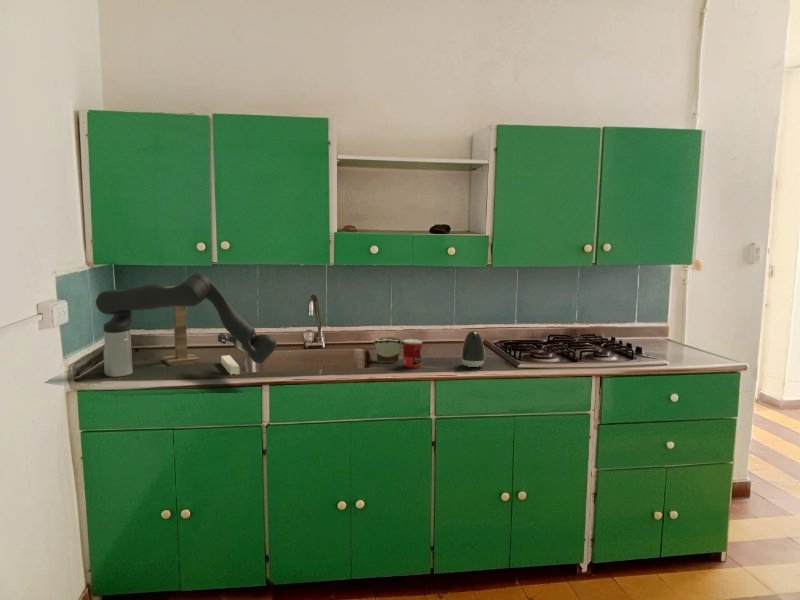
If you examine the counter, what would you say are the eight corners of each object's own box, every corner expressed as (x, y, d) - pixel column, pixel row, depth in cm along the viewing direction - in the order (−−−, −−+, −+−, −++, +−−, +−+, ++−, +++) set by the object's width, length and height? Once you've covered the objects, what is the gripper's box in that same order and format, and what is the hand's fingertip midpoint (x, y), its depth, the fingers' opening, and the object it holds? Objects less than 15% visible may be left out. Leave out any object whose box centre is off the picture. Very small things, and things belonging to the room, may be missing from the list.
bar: (239, 374, 226) (239, 366, 225) (230, 375, 224) (230, 367, 224) (229, 363, 244) (229, 355, 244) (221, 364, 243) (221, 356, 242)
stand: (199, 362, 244) (197, 287, 240) (170, 365, 237) (167, 289, 233) (191, 356, 254) (189, 285, 250) (163, 360, 247) (160, 286, 243)
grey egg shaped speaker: (461, 369, 236) (462, 333, 234) (459, 363, 246) (460, 328, 244) (486, 369, 236) (487, 333, 234) (483, 363, 246) (484, 329, 244)
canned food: (416, 369, 235) (416, 343, 234) (399, 367, 239) (399, 341, 238) (425, 365, 242) (425, 340, 240) (408, 363, 246) (409, 338, 245)
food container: (401, 358, 254) (401, 336, 253) (401, 362, 248) (402, 339, 247) (373, 358, 254) (373, 336, 252) (373, 362, 248) (373, 339, 246)
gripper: (263, 329, 224) (248, 323, 237) (227, 333, 215) (213, 327, 228) (263, 348, 224) (248, 341, 238) (228, 353, 216) (214, 345, 229)
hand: (231, 334), depth 233 cm, fingers open, 8 cm apart
